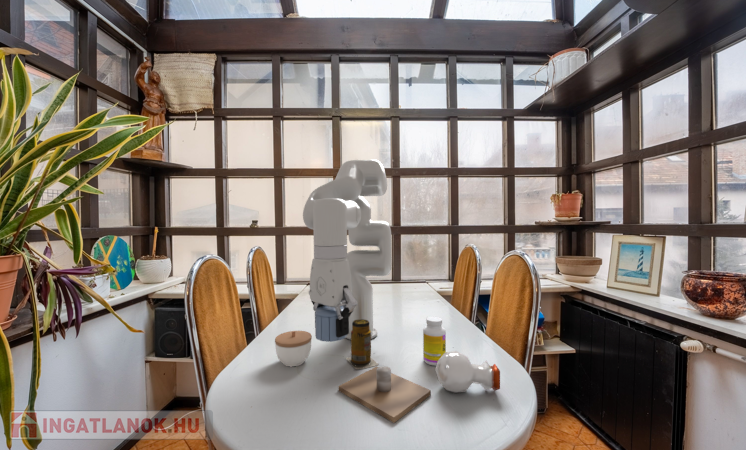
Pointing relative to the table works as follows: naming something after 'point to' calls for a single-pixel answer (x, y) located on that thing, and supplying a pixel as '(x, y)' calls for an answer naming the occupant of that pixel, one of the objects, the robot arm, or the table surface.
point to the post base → (385, 392)
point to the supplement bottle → (433, 340)
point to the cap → (326, 324)
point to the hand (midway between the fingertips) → (331, 330)
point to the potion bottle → (465, 373)
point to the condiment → (361, 345)
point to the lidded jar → (293, 347)
